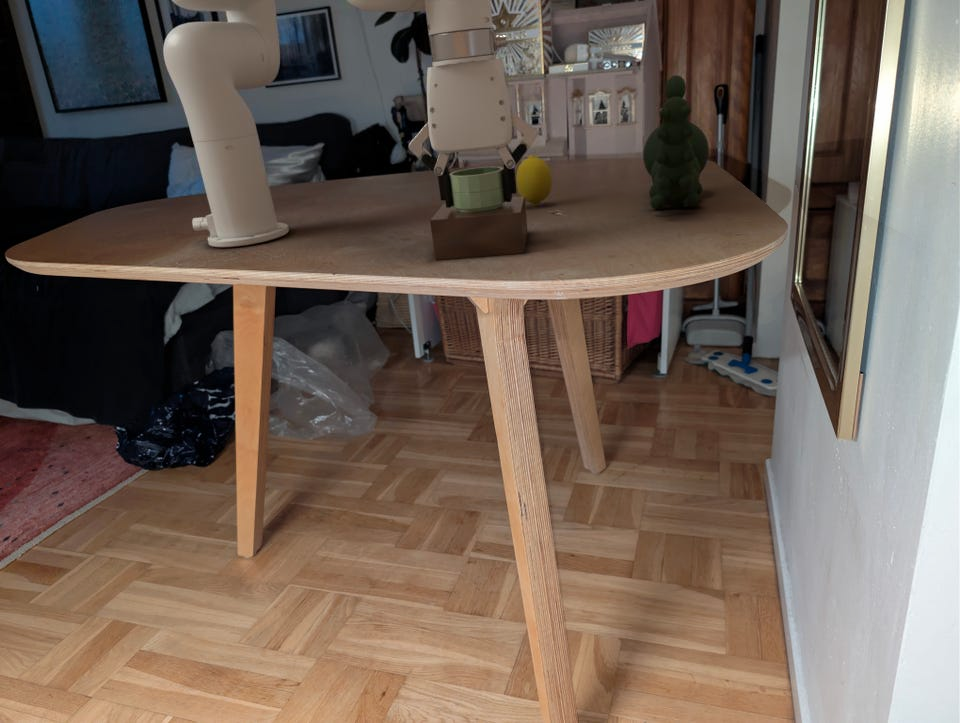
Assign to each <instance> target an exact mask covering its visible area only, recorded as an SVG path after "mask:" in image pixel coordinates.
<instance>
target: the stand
mask: <svg viewBox="0 0 960 723" xmlns="http://www.w3.org/2000/svg"><path fill="white" fill-rule="evenodd" d="M526 206H527V205H526V200H525V196H512V200H511V202H507V201H506V202H504V203H503V206H502V207H500V208H497V209H493V210H488V211H482V212H460V211H458V210H457V208H454V207H453V206H451V207H450V208H446V202H444V203H443V204H442V205H441V206H440V207H439V208H438V209H437V211H436V212H435V214H434V215H433V216H432V217H431V219H429V224H430V228H431V229H430V231H431V238H432V246H433V252H434V253H433V254H434V260H435V261H442V260H456V259H467V258H480V257H482V258H483V257H491V256H507V255H519V254H520V255H521V254H524V253H525V248H526V244H527V237H528V219H527V208H526Z"/></svg>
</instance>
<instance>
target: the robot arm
mask: <svg viewBox="0 0 960 723" xmlns="http://www.w3.org/2000/svg"><path fill="white" fill-rule="evenodd" d="M345 1H346V2H347V3H349V4H350V5H351V6H353V7H354V8H356V9H359V10H361V11H365V12H373V13H374V12H382V13H383V12H391V13H393V12H394V13H417V12H424V11H425V16H426V24H427V32H428V39H429V47H430V48H429V49H430V56H431V64H432V66H429V67H427V68H426V69H427V71H426V108H427V109H426V110H427V122H426V124H425V125H424V126H423V127H422V128H421V129H420V131H419V132H418V133H417V134H416V136H414V138H412V140H411V142H409V144H408V147H407V148H408V150H409V152H411V153H412V154H413V155H414V156H416V157H417V158H418V159H419V160H420V161H421V163H423V165H425V166H426V167H427V168H428V169H430V170H431V171H432V172H433V173H434V175H435V176H437V181H438V189H439V196H440V201H445V202H444V203H446V208H450V207H451V206H453V204H452V196H451V188H450V180H449V174H450V173H451V171H450V169H449V167H448V166H449V163H450V162H451V157H452V155H453V153H463V152H473V151H482V150H490V149H491V150H492V149H495V150H496V152H497V154H498V156H499V157H500V159H501V160H502V162H503V168H504V169H503V170H502V176H503V186H504V197H505V201H507V202H511V200H512V197H513V195H515V194H517V192H518V189H517V183H516V168H515V167H516V166H517V164H518V163H519V162H520V160H521V159H522V158H523V156H524V155H525V154H526V153H527V152H528V150H529V148H530V147H531V146H532V144H533V143H534V141H535V140H536V139H537V137H538V134H539V131H538V130H537V129H536V128H535V127H534V126H532V125H531V124H529V123H528V122H526V121H525V120H524V119H523V118H521V117H520V116H519V115H518V114H516V113H515V112H513V106H512V100H511V99H512V98H511V91H510V85H509V79H508V76H507V75H508V74H507V71H506V67H505V63H504V60H503V58H496V57H497V55H496V54H497V51H499V49H501V48H505V47H508V40H507V34H506V33H502V34H501V33H497V32H496V31H495V30H494V26H493V14H492V3H491V0H345ZM171 2H173V3H174V4H175V5H176V6H178V7H179V8H182V9H184V10H188V11H197V12H198V11H199V12H225V14H226V19H227V21H191V22H186V23H182V24H179V25H177V26H175V27H174V28H172V30H170V31H169V33H168V34H167V35H166V37H165V39H164V43H163V46H162V47H163V52H162V53H163V61H164V63H165V67H166V71H167V72H168V74H169V77H170V79H171V81H172V83H173V85H174V88H175V90H176V92H177V94H178V97H179V99H180V102H181V105H182V108H183V111H184V114H185V117H186V120H187V125H188V128H189V132H190V135H191V139H192V140H191V141H192V142H193V145H194V150H195V155H196V159H197V162H198V166H199V170H200V174H201V178H202V182H203V186H204V189H205V194H206V198H207V202H208V205H209V209H210V214H207V215H205V216H201V217H193V218H192V221H191V224H192V229H193V231H194V232H199V231H200V232H201V231H205V230H206V231H208V232H209V235H208V237H207V239H206V240H207V243H208V245H209V246H210V247H212V248H213V247H214V248H236V247H243V246H250V245H251V246H252V245H256V244H260V243H265V242H268V241H269V242H270V241H273V240H275V239H278V238H281V237H283V236H285V235H287V234H288V233H289V231H290V229H289V225H288V224H287V223H285V222H278V220H277V216H276V215H277V214H276V212H275V211H276V210H275V205H274V202H273V197H272V193H271V188H270V184H269V179H268V175H267V170H266V166H265V161H264V156H263V151H262V147H261V144H260V138H259V134H258V130H257V126H256V121H255V118H254V116H253V113H252V112H251V110H250V108H249V106H248V105H247V104H246V102H245V100H244V99H243V97H242V96H241V95H240V94H239V92H238V91H241V90H250V89H260V88H263V87H266V86H268V85H270V84H271V83H273V82H274V81H275V79H276V77H277V76H278V74H279V70H280V65H281V49H280V39H279V38H280V37H279V30H278V28H279V27H278V19H277V11H276V9H277V8H276V1H275V0H171ZM515 129H516V130H517V131H518V132H520V133H521V134H522V136H523V138H522V139H521V141H520V142H519V144H518V145H517V146H516V147H515V149H514V150H511V148H510V146H509V145H508V144H510V143H511V142H512V140H513V138H514V137H515ZM428 140H429V142H430V145H431V148H432V150H433V151H434V152H436V153H439V154H438V156H437V158H436V156H435V155H434V154H432V153H431V152H430V151H428V150H427V149H426V147H425V143H426V142H427V141H428Z"/></svg>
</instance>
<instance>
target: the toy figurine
mask: <svg viewBox="0 0 960 723" xmlns="http://www.w3.org/2000/svg"><path fill="white" fill-rule="evenodd" d="M686 90H687V86H686V82H685V79H684V78H683V77H682V76H680V75H678V74H677V75H672V76H670V77H669V78H668V80H667V81H666V83H665V86H664V94H665V97H666V99H667V100H666V101H665V102H664V103H663V105H662V107H661V109H660V111H659V117H660V118H661V119H662V122H661V124H660V125H659V126H657V127H656V128H655V129H654V130H653V131H652V132H651V133H650V134H649V136H648V137H647V139H646V141H645V143H644V147H643V164H644V167H645V169H646V171H647V174H649V176H650V177H651V181H652V185H651V186H650V187H649V191H648V194H649V196H650V202H649V204H650V207H651V208H652V209H654V210H661V209H664V208H667V206H669V207H675V208H676V207H682V206H684V207H686V208H696V207H698V206H700V204H701V202H702V198H701V194H702V192H703V186H702V184H701V182H700V176H701V173H702V172H703V171H704V169H705V167H706V164H708V159H709V154H710V153H709V152H710V148H709V147H710V146H709V140H708V139H707V136H706V135H705V133H704V131H703V130H702V129H701V128H700V127H699V126H698V125H697V124H694V123H693V122H692V121H690V120H689V119H688V118H689V117H690V115H691V114H692V109H691V108H692V107H690V105H689V103H688V101H687V100H686V99H685V98H684V97H685V94H686Z"/></svg>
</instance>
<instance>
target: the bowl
mask: <svg viewBox="0 0 960 723" xmlns="http://www.w3.org/2000/svg"><path fill="white" fill-rule="evenodd" d="M503 169H504V167H502V166H480V167H471V168H465V169H460V170H455V171H453V172H450V174H449V180H450V188H451V196H452V204H453V207H454V208H457V210H458V211H460V212H482V211H488V210H493V209H497V208H500V207H502V206H503V203H504V202H506V201H505V197H504V186H503V176H502V170H503Z"/></svg>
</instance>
